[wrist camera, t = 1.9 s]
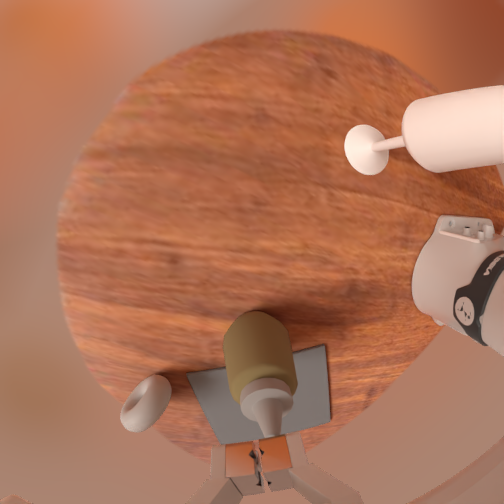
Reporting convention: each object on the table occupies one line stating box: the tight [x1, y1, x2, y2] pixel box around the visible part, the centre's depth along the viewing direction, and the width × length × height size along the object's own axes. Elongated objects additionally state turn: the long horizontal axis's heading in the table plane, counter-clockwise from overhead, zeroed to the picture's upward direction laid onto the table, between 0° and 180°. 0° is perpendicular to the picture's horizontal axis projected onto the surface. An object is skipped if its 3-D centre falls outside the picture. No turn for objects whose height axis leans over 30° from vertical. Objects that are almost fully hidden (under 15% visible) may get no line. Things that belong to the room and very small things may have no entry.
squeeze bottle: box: [223, 311, 298, 438], centre depth 26 cm, size 8×8×18 cm
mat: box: [186, 344, 330, 444], centre depth 38 cm, size 20×18×1 cm
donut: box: [120, 375, 172, 432], centre depth 31 cm, size 10×4×10 cm, turn 133°
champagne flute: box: [345, 85, 504, 175], centre depth 19 cm, size 7×7×24 cm
